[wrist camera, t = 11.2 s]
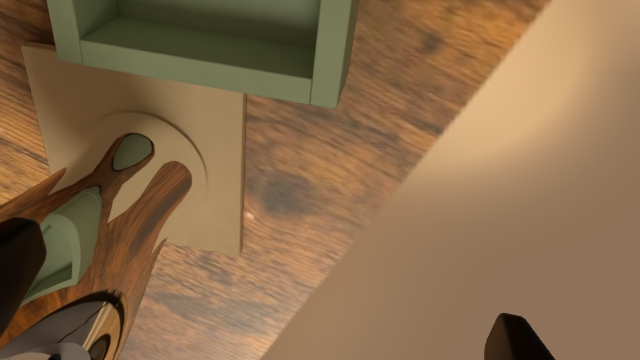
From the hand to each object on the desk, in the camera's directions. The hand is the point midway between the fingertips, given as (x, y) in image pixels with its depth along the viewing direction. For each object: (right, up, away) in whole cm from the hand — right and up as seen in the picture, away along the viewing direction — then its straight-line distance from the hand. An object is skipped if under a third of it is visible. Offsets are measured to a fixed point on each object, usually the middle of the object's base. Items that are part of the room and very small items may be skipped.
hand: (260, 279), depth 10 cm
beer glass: (-7, +3, +15) cm, 17 cm away
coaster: (-7, +3, +15) cm, 17 cm away
